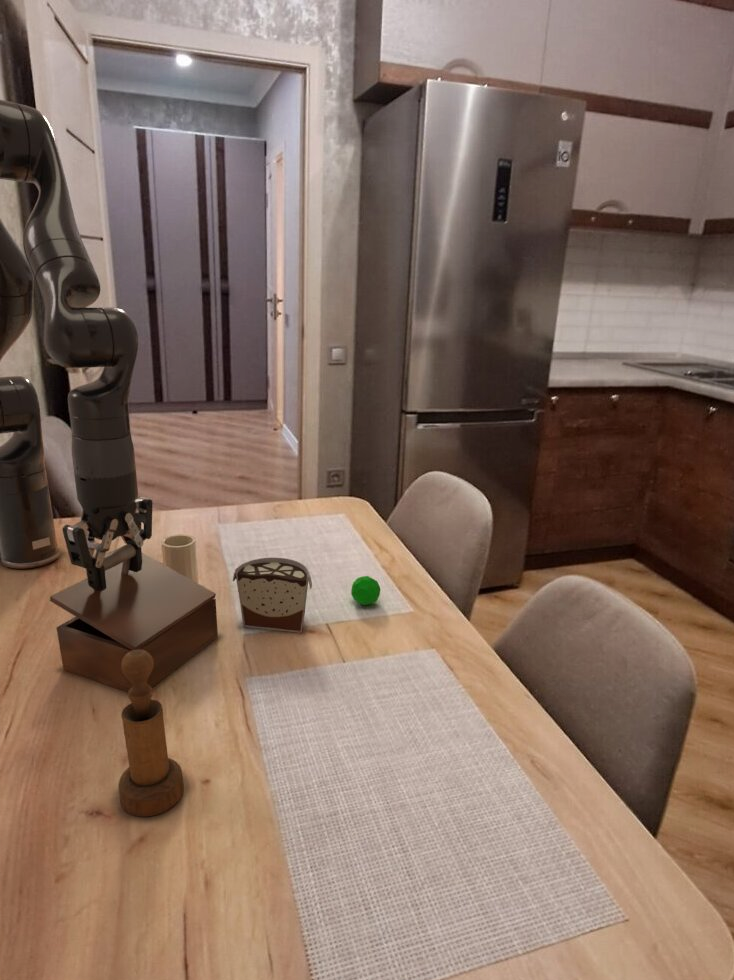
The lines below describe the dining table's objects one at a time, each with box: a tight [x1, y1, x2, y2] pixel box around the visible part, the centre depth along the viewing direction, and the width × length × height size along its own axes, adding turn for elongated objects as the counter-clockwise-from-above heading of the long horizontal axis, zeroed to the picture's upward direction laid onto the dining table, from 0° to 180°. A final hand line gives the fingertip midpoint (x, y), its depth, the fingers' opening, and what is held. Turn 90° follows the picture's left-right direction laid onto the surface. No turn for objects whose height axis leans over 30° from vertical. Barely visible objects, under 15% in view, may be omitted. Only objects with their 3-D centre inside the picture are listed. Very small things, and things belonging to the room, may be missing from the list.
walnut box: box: [56, 597, 219, 693], centre depth 96 cm, size 14×17×7 cm
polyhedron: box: [350, 575, 381, 606], centre depth 114 cm, size 5×5×5 cm
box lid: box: [49, 544, 217, 651], centre depth 93 cm, size 14×17×6 cm
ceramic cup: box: [160, 533, 200, 585], centre depth 112 cm, size 5×5×10 cm
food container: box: [232, 557, 313, 634], centre depth 106 cm, size 12×6×10 cm, turn 84°
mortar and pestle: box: [118, 650, 185, 817], centre depth 69 cm, size 7×6×18 cm
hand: (116, 579), depth 94 cm, fingers closed on box lid, 6 cm apart
